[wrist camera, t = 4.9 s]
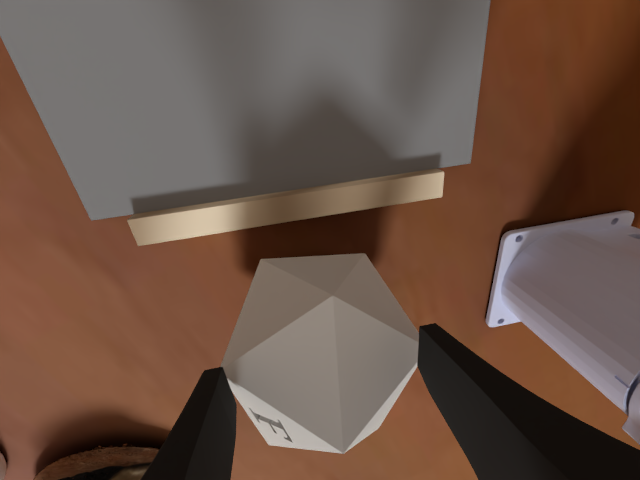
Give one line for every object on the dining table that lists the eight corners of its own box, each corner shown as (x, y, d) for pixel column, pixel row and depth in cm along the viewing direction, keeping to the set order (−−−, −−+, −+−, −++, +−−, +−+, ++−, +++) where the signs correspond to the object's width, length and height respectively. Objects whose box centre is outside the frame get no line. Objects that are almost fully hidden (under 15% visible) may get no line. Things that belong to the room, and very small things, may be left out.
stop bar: (432, 166, 17) (444, 171, 16) (431, 190, 17) (442, 197, 16) (136, 211, 15) (127, 220, 14) (146, 235, 16) (138, 246, 15)
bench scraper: (506, -189, 11) (514, -199, 11) (466, 161, 17) (470, 163, 17) (-94, -173, 9) (-108, -184, 9) (95, 217, 15) (91, 220, 15)
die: (209, 253, 17) (146, 428, 8) (358, 202, 17) (460, 318, 8) (264, 353, 21) (263, 545, 12) (385, 311, 21) (473, 470, 12)
